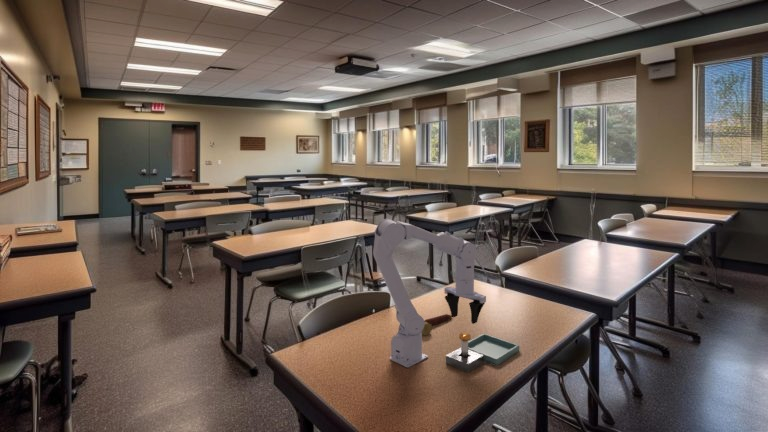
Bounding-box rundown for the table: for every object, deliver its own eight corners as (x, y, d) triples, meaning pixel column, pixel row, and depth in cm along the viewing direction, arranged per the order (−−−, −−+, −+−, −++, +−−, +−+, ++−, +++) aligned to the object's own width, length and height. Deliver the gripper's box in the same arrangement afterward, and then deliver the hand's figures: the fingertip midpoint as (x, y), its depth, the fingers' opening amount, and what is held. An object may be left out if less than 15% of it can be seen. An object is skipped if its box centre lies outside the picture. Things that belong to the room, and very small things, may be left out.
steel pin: (465, 367, 122) (466, 338, 121) (456, 363, 125) (456, 335, 123) (472, 363, 124) (472, 335, 123) (463, 359, 127) (463, 332, 126)
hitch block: (467, 372, 119) (467, 364, 119) (445, 363, 125) (445, 355, 124) (483, 363, 124) (483, 355, 124) (461, 354, 130) (461, 346, 130)
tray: (496, 365, 123) (496, 359, 122) (460, 351, 132) (460, 345, 132) (519, 351, 131) (519, 345, 131) (483, 338, 141) (483, 333, 141)
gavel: (443, 307, 164) (462, 313, 157) (442, 318, 165) (461, 325, 157) (403, 316, 151) (423, 324, 143) (403, 329, 152) (422, 337, 144)
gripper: (491, 280, 128) (490, 322, 130) (453, 271, 138) (453, 310, 140) (478, 285, 123) (478, 328, 125) (440, 275, 133) (440, 316, 135)
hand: (464, 319), depth 132 cm, fingers open, 7 cm apart
